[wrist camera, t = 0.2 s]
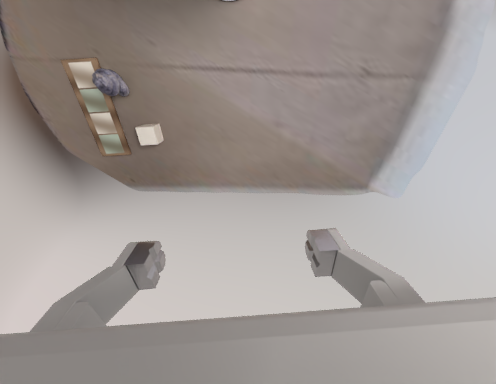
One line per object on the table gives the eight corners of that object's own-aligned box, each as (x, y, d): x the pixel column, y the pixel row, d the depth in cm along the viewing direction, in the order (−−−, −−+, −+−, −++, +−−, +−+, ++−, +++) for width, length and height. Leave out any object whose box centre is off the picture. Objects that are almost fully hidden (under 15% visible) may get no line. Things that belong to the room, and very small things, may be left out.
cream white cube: (142, 124, 52) (135, 127, 48) (159, 123, 52) (153, 126, 48) (147, 141, 54) (140, 145, 50) (163, 140, 54) (157, 144, 51)
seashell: (109, 88, 48) (79, 88, 39) (114, 66, 46) (85, 61, 37) (130, 100, 49) (107, 103, 40) (137, 80, 47) (114, 78, 38)
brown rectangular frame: (62, 60, 45) (60, 59, 44) (97, 58, 45) (95, 57, 44) (103, 155, 56) (102, 156, 55) (131, 153, 56) (130, 154, 55)
